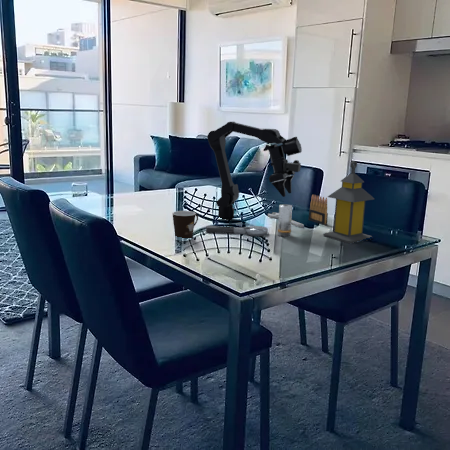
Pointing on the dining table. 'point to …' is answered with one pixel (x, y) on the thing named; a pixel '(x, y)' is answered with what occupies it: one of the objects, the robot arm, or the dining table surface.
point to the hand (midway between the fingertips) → (287, 194)
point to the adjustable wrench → (276, 216)
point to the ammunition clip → (318, 210)
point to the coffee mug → (184, 223)
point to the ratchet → (239, 230)
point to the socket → (284, 220)
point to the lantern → (349, 209)
